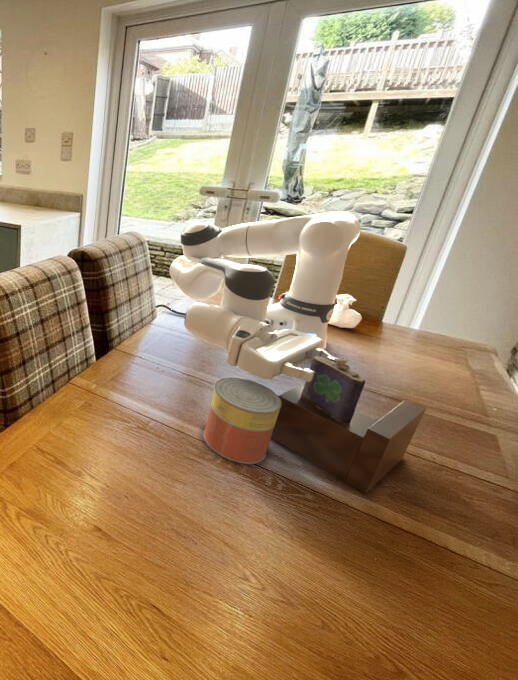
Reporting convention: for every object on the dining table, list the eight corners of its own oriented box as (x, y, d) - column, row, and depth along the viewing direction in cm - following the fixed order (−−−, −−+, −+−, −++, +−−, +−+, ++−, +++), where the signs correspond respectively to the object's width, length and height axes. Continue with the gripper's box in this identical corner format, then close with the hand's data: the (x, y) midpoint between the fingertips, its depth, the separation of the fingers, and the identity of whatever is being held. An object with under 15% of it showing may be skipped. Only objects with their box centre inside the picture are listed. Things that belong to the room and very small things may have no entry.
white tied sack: (356, 335, 130) (371, 305, 130) (355, 327, 125) (371, 296, 125) (313, 323, 139) (327, 295, 139) (311, 315, 134) (325, 286, 134)
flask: (297, 395, 79) (313, 348, 75) (309, 393, 79) (325, 346, 75) (343, 425, 70) (363, 374, 66) (355, 422, 71) (377, 372, 67)
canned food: (258, 431, 83) (273, 383, 79) (272, 470, 74) (289, 418, 69) (201, 419, 87) (211, 373, 82) (206, 455, 77) (219, 404, 72)
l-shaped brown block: (265, 435, 82) (280, 387, 78) (305, 411, 90) (320, 365, 85) (365, 493, 69) (390, 439, 64) (401, 459, 76) (426, 408, 72)
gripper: (275, 342, 91) (346, 370, 80) (221, 365, 81) (293, 400, 70) (282, 317, 89) (356, 342, 78) (227, 338, 79) (303, 370, 68)
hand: (326, 370), depth 74 cm, fingers open, 8 cm apart
